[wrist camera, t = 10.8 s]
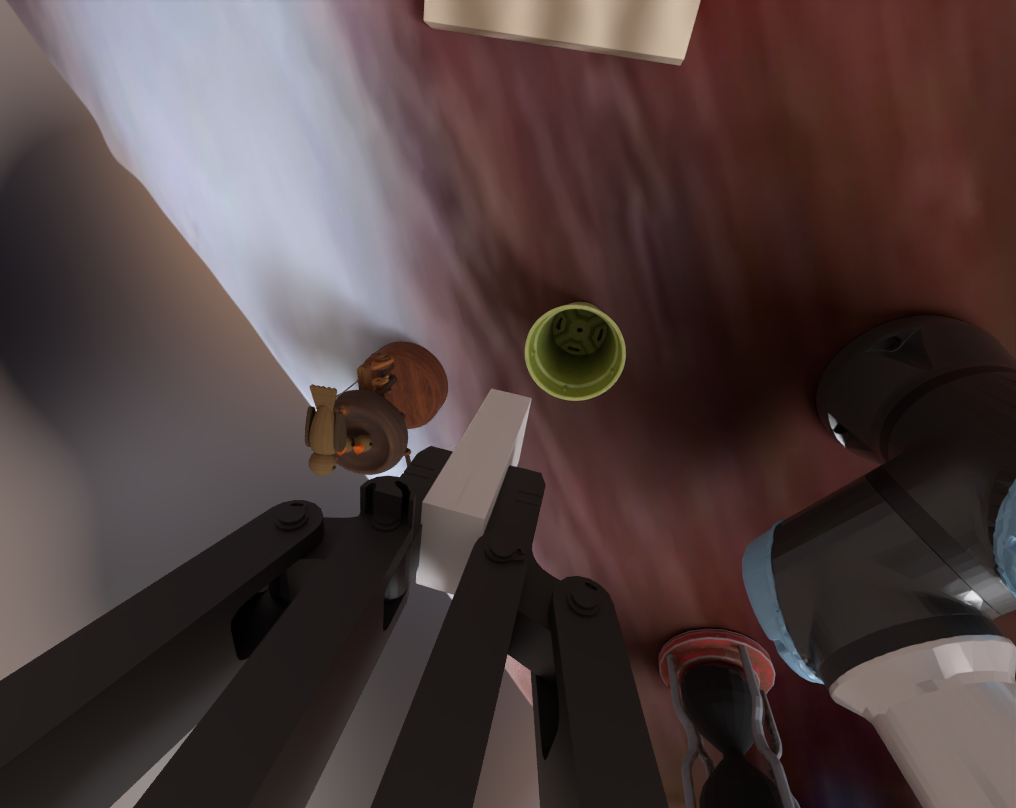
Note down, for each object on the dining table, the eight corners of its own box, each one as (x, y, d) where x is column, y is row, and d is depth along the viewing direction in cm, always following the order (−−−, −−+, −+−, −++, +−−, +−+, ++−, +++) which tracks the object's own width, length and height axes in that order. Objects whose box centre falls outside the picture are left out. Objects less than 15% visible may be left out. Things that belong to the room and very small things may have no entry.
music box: (348, 338, 55) (244, 407, 37) (430, 319, 52) (362, 383, 34) (391, 443, 61) (318, 546, 43) (466, 430, 58) (423, 533, 40)
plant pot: (529, 357, 51) (516, 388, 44) (546, 276, 47) (535, 294, 39) (608, 376, 50) (609, 411, 43) (634, 296, 46) (639, 318, 38)
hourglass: (640, 671, 72) (655, 887, 50) (689, 612, 64) (733, 837, 42) (734, 708, 71) (792, 943, 49) (795, 653, 63) (896, 902, 41)
